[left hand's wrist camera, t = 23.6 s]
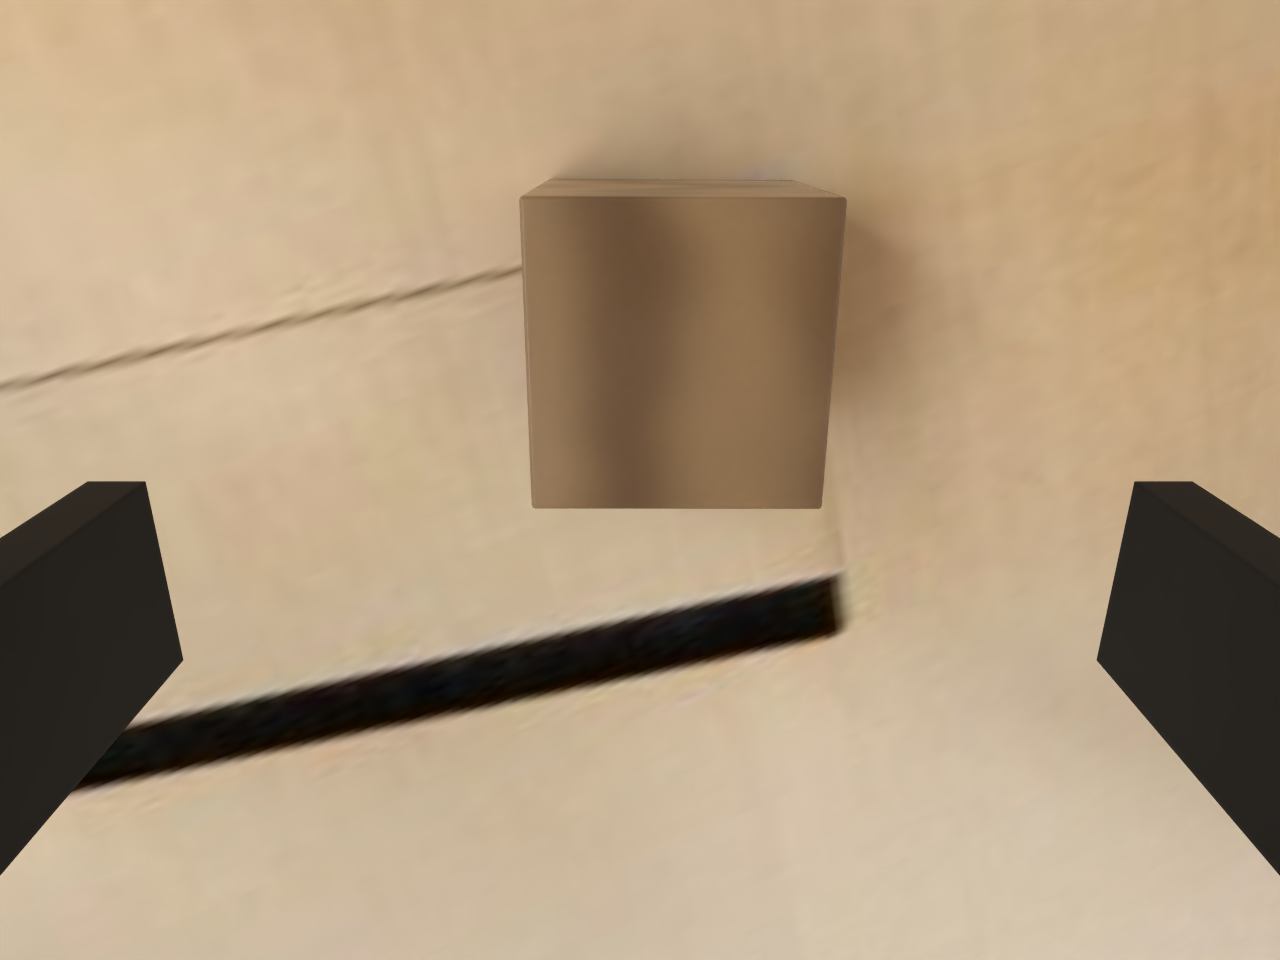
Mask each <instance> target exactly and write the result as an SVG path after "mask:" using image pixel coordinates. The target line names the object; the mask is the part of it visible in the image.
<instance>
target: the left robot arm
mask: <svg viewBox="0 0 1280 960" xmlns="http://www.w3.org/2000/svg"><path fill="white" fill-rule="evenodd" d="M182 661H183V656H182V652H181V647H180V642H179V637H178V633H177V628H176V623H175V619H174V614H173V609H172V604H171V600H170V595H169V590H168V586H167V581H166V576H165V571H164V567H163V562H162V557H161V553H160V548H159V543H158V538H157V534H156V529H155V524H154V520H153V515H152V510H151V506H150V501H149V496H148V491H147V487H146V482H86V483H85V484H83V485H82V486H80V487H78V488H77V489H75V490H74V491H72V492H71V493H69V494H68V495H66V496H65V497H63V498H62V499H60V500H58V501H57V502H55V503H54V504H52V505H51V506H49V507H48V508H46V509H45V510H43V511H42V512H40V513H38V514H37V515H35V516H34V517H32V518H31V519H29V520H28V521H26V522H25V523H23V524H21V525H20V526H18V527H17V528H15V529H14V530H12V531H11V532H9V533H8V534H6V535H5V536H3V537H1V538H0V875H1V874H2V873H3V872H4V870H5V869H6V868H7V867H8V866H9V865H10V863H11V862H12V861H13V860H14V859H15V857H16V856H17V855H18V854H19V853H20V852H21V850H22V849H23V848H24V847H25V846H26V845H27V843H28V842H29V841H30V840H31V839H32V837H33V836H34V835H35V834H36V833H37V832H38V830H39V829H40V828H41V827H42V826H43V825H44V823H45V822H46V821H47V820H48V819H49V817H50V816H51V815H52V814H53V813H54V812H55V810H56V809H57V808H58V807H59V806H60V805H61V803H62V802H63V801H64V800H65V799H66V797H67V796H68V795H69V794H70V793H71V792H72V790H73V789H74V788H75V787H76V786H77V785H78V783H79V782H80V781H81V780H82V779H83V777H84V776H85V775H86V774H87V773H88V772H89V770H90V769H91V768H92V767H93V766H94V765H95V763H96V762H97V761H98V760H99V759H100V757H101V756H102V755H103V754H104V753H105V752H106V750H107V749H108V748H109V747H110V746H111V745H112V743H113V742H114V741H115V740H116V739H117V737H118V736H119V735H120V734H121V733H122V732H123V730H124V729H125V728H126V727H127V726H128V725H129V723H130V722H131V721H132V720H133V719H134V717H135V716H136V715H137V714H138V713H139V712H140V710H141V709H142V708H143V707H144V706H145V705H146V703H147V702H148V701H149V700H150V699H151V697H152V696H153V695H154V694H155V693H156V692H157V690H158V689H159V688H160V687H161V686H162V685H163V683H164V682H165V681H166V680H167V679H168V677H169V676H170V675H171V674H172V673H173V672H174V670H175V669H176V668H177V667H178V666H179V665H180V663H181V662H182ZM1097 661H1098V662H1099V663H1100V665H1101V666H1102V667H1103V668H1104V669H1105V670H1106V672H1107V673H1108V674H1109V675H1110V676H1111V677H1112V679H1113V680H1114V681H1115V682H1116V683H1117V685H1118V686H1119V687H1120V688H1121V689H1122V690H1123V692H1124V693H1125V694H1126V695H1127V696H1128V697H1129V699H1130V700H1131V701H1132V702H1133V703H1134V705H1135V706H1136V707H1137V708H1138V709H1139V710H1140V712H1141V713H1142V714H1143V715H1144V716H1145V717H1146V719H1147V720H1148V721H1149V722H1150V723H1151V725H1152V726H1153V727H1154V728H1155V729H1156V730H1157V732H1158V733H1159V734H1160V735H1161V736H1162V737H1163V739H1164V740H1165V741H1166V742H1167V743H1168V745H1169V746H1170V747H1171V748H1172V749H1173V750H1174V752H1175V753H1176V754H1177V755H1178V756H1179V757H1180V759H1181V760H1182V761H1183V762H1184V763H1185V765H1186V766H1187V767H1188V768H1189V769H1190V770H1191V772H1192V773H1193V774H1194V775H1195V776H1196V777H1197V779H1198V780H1199V781H1200V782H1201V783H1202V785H1203V786H1204V787H1205V788H1206V789H1207V790H1208V792H1209V793H1210V794H1211V795H1212V796H1213V797H1214V799H1215V800H1216V801H1217V802H1218V803H1219V805H1220V806H1221V807H1222V808H1223V809H1224V810H1225V812H1226V813H1227V814H1228V815H1229V816H1230V817H1231V819H1232V820H1233V821H1234V822H1235V823H1236V825H1237V826H1238V827H1239V828H1240V829H1241V830H1242V832H1243V833H1244V834H1245V835H1246V836H1247V837H1248V839H1249V840H1250V841H1251V842H1252V843H1253V845H1254V846H1255V847H1256V848H1257V849H1258V850H1259V852H1260V853H1261V854H1262V855H1263V856H1264V857H1265V859H1266V860H1267V861H1268V862H1269V863H1270V865H1271V866H1272V867H1273V868H1274V869H1275V870H1276V872H1277V873H1278V874H1279V875H1280V538H1279V537H1277V536H1275V535H1274V534H1272V533H1271V532H1269V531H1268V530H1266V529H1265V528H1263V527H1262V526H1260V525H1259V524H1257V523H1255V522H1254V521H1252V520H1251V519H1249V518H1248V517H1246V516H1245V515H1243V514H1242V513H1240V512H1238V511H1237V510H1235V509H1234V508H1232V507H1231V506H1229V505H1228V504H1226V503H1225V502H1223V501H1222V500H1220V499H1218V498H1217V497H1215V496H1214V495H1212V494H1211V493H1209V492H1208V491H1206V490H1205V489H1203V488H1202V487H1200V486H1198V485H1197V484H1195V483H1194V482H1134V487H1133V491H1132V496H1131V501H1130V506H1129V510H1128V515H1127V520H1126V524H1125V529H1124V534H1123V538H1122V543H1121V548H1120V553H1119V557H1118V562H1117V567H1116V571H1115V576H1114V581H1113V586H1112V590H1111V595H1110V600H1109V604H1108V609H1107V614H1106V619H1105V623H1104V628H1103V633H1102V637H1101V642H1100V647H1099V652H1098V656H1097Z"/></svg>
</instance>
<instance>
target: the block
mask: <svg viewBox="0 0 1280 960" xmlns="http://www.w3.org/2000/svg"><path fill="white" fill-rule="evenodd" d="M519 202H520V227H521V251H522V275H523V300H524V324H525V349H526V373H527V397H528V422H529V446H530V471H531V495H532V506H533V508H665V509H819V508H821V506H822V495H823V483H824V471H825V459H826V446H827V434H828V422H829V410H830V398H831V386H832V374H833V362H834V349H835V337H836V325H837V313H838V301H839V289H840V277H841V265H842V253H843V240H844V228H845V216H846V204H847V201H846V198H844V197H841V196H838V195H835V194H832V193H828V192H825V191H822V190H819V189H816V188H813V187H810V186H807V185H804V184H801V183H798V182H795V181H792V180H582V179H550V180H548V181H546V182H544V183H543V184H541V185H540V186H538V187H536V188H535V189H533V190H531V191H530V192H528V193H526V194H525V195H523V196H521V197H520V200H519Z"/></svg>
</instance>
